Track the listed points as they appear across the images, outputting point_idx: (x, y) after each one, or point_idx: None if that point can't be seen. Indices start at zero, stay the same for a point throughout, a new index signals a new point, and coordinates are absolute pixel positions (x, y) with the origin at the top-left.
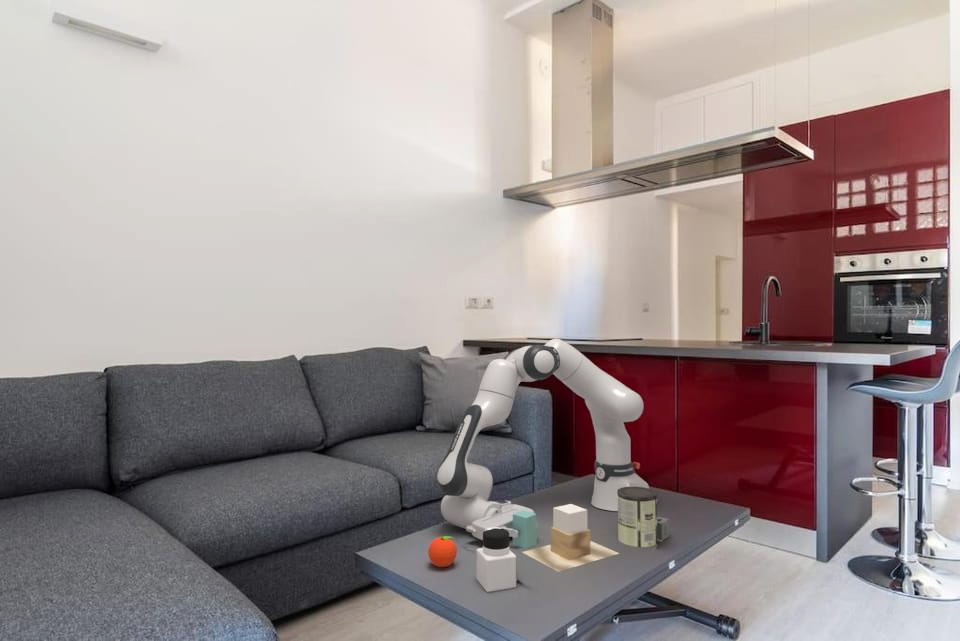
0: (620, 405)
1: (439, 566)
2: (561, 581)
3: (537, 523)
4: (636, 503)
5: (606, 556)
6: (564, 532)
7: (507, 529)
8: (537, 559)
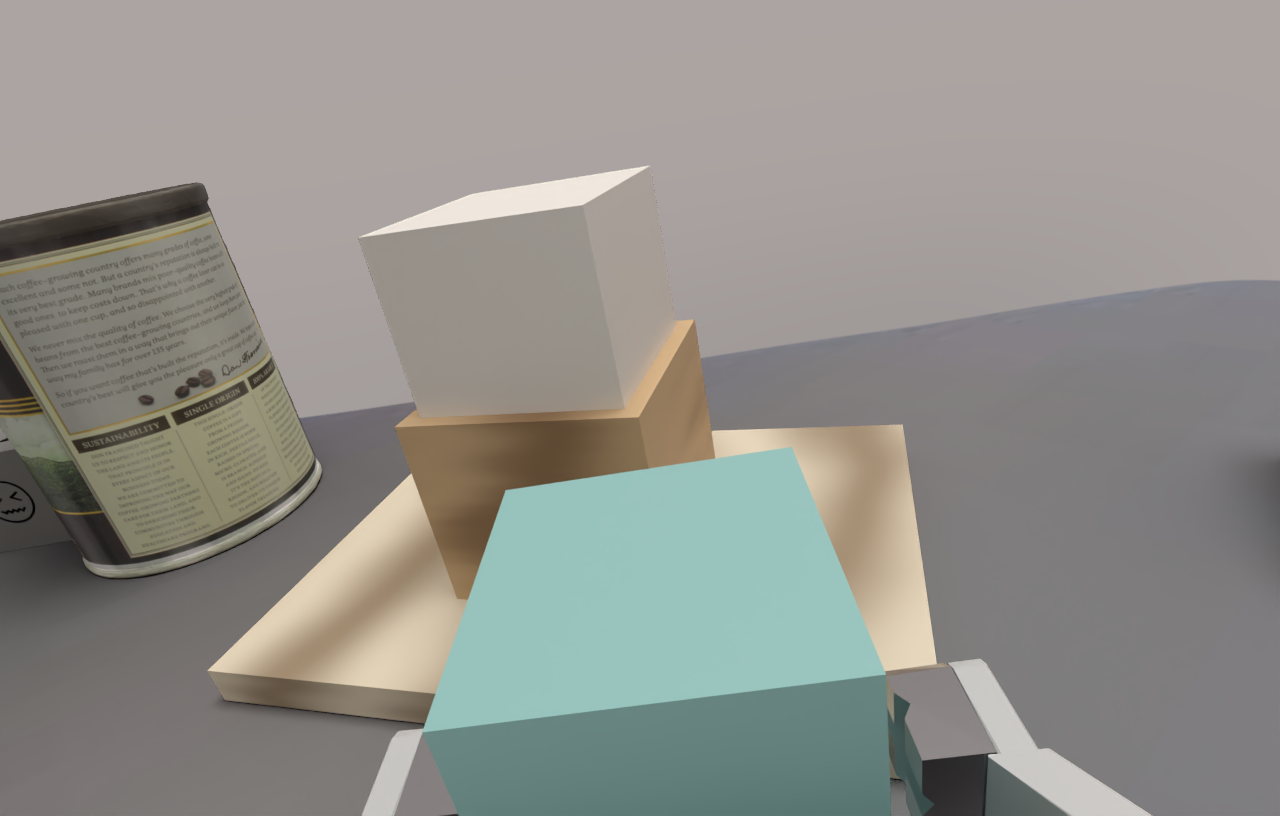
0: None
1: None
2: (922, 426)
3: (409, 734)
4: (215, 224)
5: None
6: (663, 346)
7: (1125, 800)
8: (907, 561)
